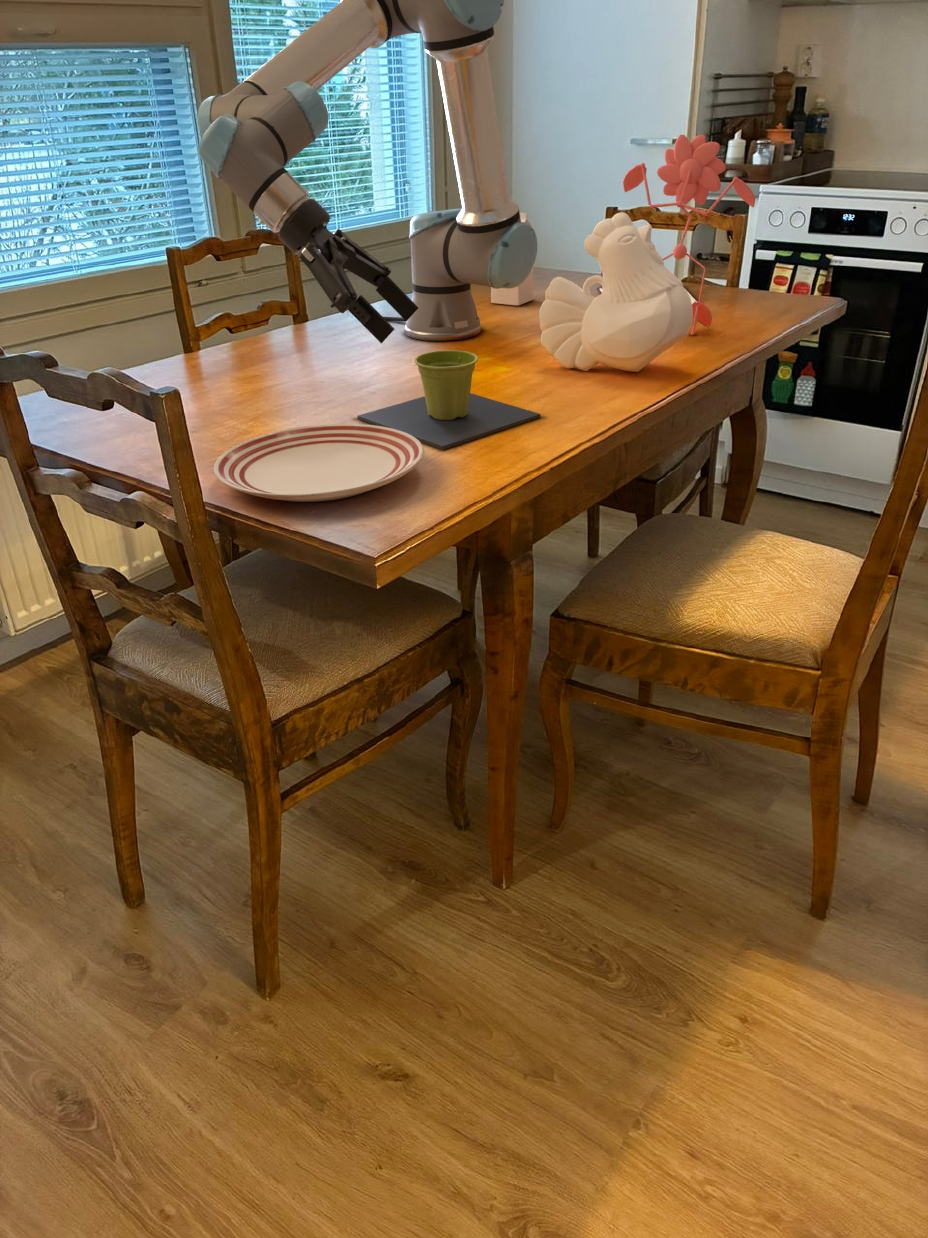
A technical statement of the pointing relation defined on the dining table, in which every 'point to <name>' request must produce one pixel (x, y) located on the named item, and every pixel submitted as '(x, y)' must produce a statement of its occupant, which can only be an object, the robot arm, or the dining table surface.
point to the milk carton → (518, 293)
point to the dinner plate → (319, 462)
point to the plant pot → (446, 382)
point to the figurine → (690, 191)
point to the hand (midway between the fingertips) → (400, 325)
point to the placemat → (449, 421)
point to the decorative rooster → (616, 304)
